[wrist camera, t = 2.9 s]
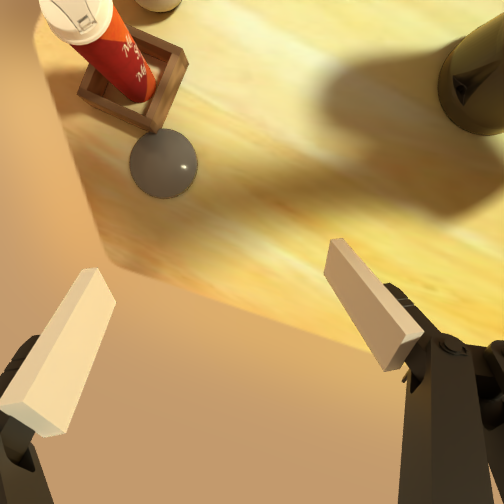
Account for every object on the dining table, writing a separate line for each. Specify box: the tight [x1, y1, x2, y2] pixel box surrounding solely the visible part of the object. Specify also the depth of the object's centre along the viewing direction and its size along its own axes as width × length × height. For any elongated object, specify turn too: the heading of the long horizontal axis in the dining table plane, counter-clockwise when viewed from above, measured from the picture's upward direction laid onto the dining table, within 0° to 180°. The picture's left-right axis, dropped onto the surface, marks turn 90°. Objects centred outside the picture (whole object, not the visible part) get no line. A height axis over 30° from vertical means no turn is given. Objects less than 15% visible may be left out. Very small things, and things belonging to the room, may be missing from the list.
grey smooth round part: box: [130, 129, 198, 198], centre depth 39 cm, size 11×11×1 cm
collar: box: [77, 23, 189, 134], centre depth 37 cm, size 12×12×3 cm
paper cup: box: [39, 0, 156, 103], centre depth 32 cm, size 8×8×14 cm
